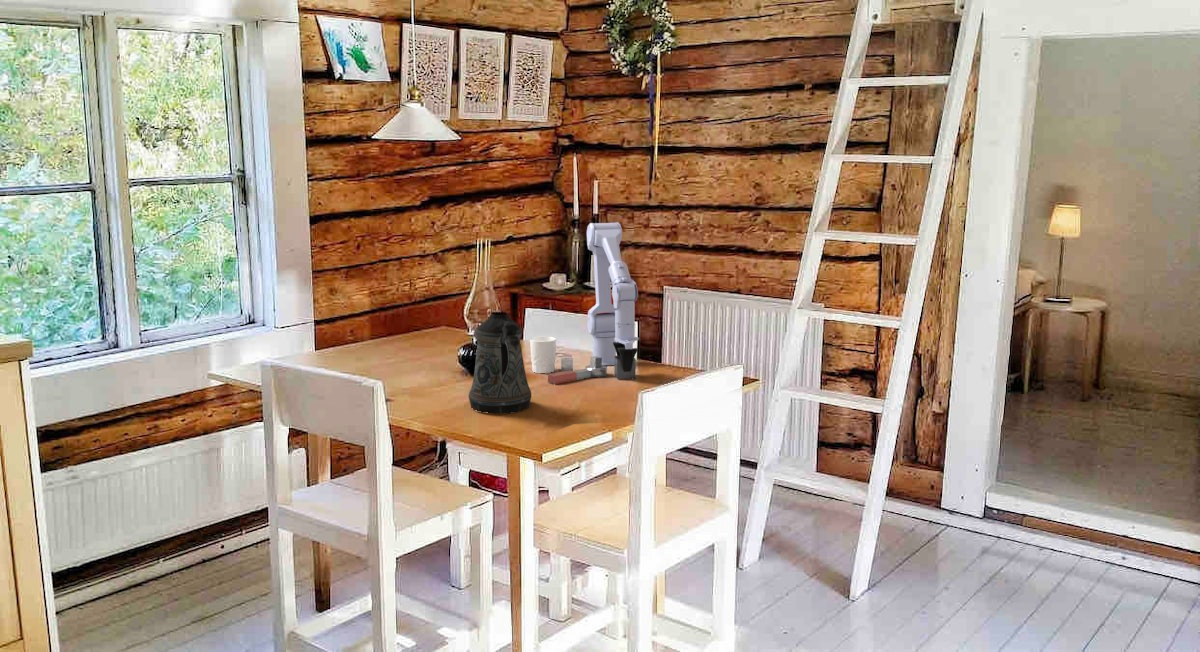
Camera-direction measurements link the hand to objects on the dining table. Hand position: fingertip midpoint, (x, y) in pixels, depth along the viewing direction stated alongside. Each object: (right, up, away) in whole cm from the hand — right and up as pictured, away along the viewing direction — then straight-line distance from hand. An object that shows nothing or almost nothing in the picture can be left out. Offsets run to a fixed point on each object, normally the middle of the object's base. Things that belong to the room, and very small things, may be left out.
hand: (624, 368), depth 295 cm
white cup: (-25, -1, +9) cm, 26 cm away
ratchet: (-14, -3, -1) cm, 14 cm away
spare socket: (-17, -1, +8) cm, 19 cm away
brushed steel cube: (0, -3, +1) cm, 3 cm away
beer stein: (-32, -9, -32) cm, 46 cm away
